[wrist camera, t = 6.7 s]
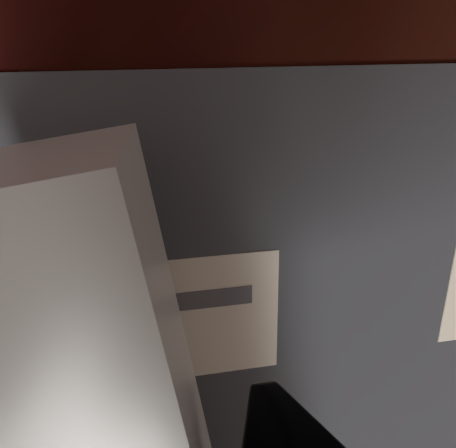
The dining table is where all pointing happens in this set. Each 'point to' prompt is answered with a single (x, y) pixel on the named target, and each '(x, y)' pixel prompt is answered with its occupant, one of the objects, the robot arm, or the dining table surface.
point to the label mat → (293, 230)
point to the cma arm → (89, 302)
